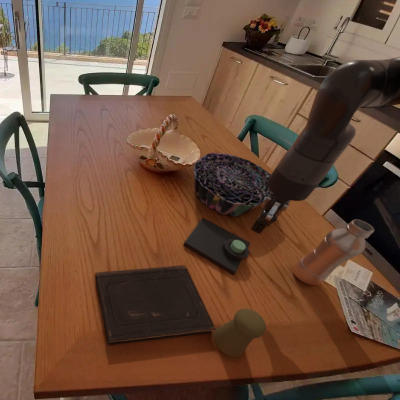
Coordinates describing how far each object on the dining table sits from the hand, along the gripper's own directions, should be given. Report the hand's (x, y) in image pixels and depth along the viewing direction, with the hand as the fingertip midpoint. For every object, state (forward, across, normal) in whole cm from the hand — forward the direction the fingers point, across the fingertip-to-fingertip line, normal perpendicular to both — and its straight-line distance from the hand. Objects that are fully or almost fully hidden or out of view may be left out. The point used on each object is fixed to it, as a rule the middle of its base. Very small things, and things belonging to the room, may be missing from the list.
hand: (255, 230), depth 64 cm
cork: (+13, -22, -6) cm, 26 cm away
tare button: (+10, +2, +1) cm, 10 cm away
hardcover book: (+12, -26, +11) cm, 31 cm away
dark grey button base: (+12, +2, +6) cm, 14 cm away
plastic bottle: (+13, +8, -15) cm, 21 cm away
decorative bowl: (+12, +26, +12) cm, 31 cm away
